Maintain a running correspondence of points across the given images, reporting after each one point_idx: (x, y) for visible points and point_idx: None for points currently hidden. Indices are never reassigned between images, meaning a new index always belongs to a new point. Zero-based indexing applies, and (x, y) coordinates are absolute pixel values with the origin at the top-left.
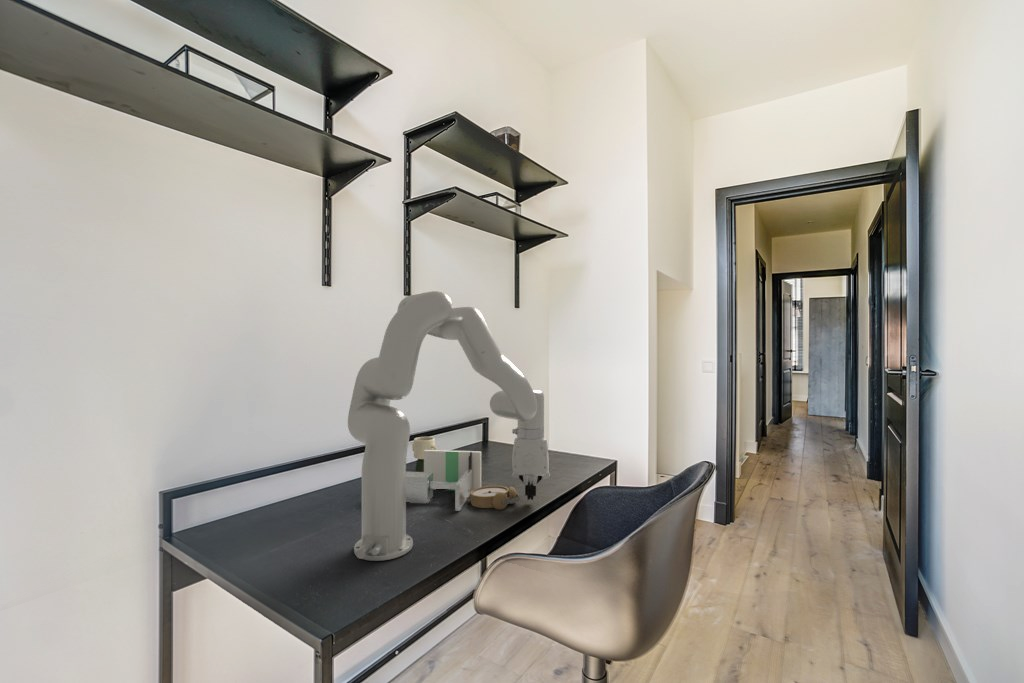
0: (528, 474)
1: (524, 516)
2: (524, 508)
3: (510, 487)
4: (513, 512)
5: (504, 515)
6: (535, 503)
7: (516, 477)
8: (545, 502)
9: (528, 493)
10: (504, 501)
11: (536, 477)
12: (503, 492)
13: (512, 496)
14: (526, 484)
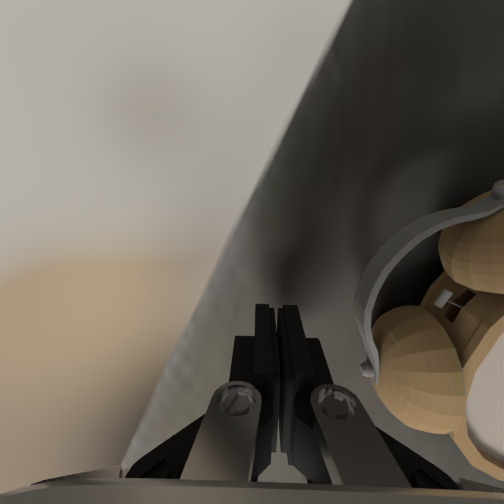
0: (343, 494)
1: (307, 93)
2: (309, 247)
3: (458, 407)
4: (384, 166)
5: (454, 97)
6: (243, 333)
7: (487, 488)
8: (186, 353)
9: (293, 328)
10: (494, 205)
11: (199, 474)
12: (492, 367)
13: (414, 322)
14: (327, 395)
